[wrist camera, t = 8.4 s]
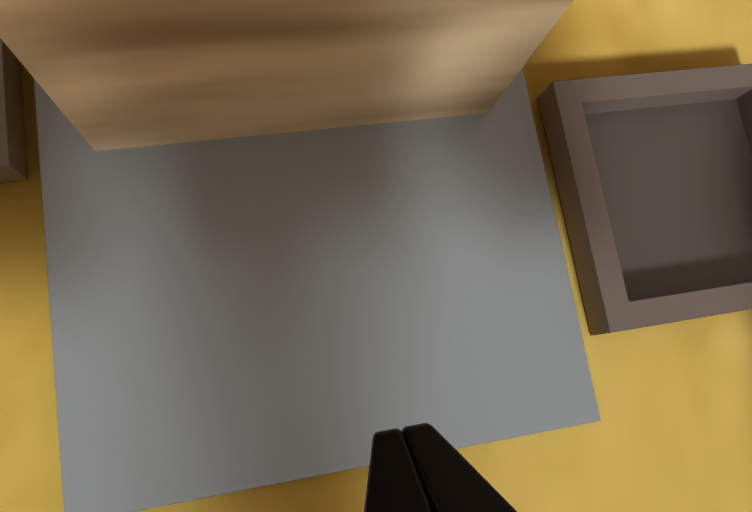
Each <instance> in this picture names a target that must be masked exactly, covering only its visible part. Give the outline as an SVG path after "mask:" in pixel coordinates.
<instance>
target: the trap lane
mask: <svg viewBox="0 0 752 512" xmlns="http://www.w3.org/2000/svg"><path fill="white" fill-rule="evenodd" d="M34 87H35V101H36V116H37V130H38V144H39V159H40V173H41V187H42V202H43V216H44V230H45V245H46V259H47V273H48V288H49V302H50V316H51V331H52V345H53V359H54V374H55V388H56V402H57V417H58V431H59V445H60V460H61V474H62V488H63V503H64V512H134V511H139V510H144V509H149V508H154V507H159V506H165V505H170V504H175V503H180V502H185V501H190V500H195V499H200V498H206V497H211V496H216V495H221V494H226V493H231V492H236V491H242V490H247V489H252V488H257V487H262V486H267V485H272V484H277V483H283V482H288V481H293V480H298V479H303V478H308V477H313V476H319V475H324V474H329V473H334V472H339V471H344V470H349V469H354V468H360V467H365V466H369V465H370V456H371V447H372V439H373V435H374V433H376V432H378V431H383V430H389V429H394V428H398V429H400V430H401V431H402V429H403V428H404V427H406V426H410V425H416V424H421V423H428V424H430V425H432V426H433V427H434V428H435V429H436V430H437V431H438V432H439V433H440V434H441V435H442V436H443V437H444V438H445V439H446V440H447V441H448V442H449V443H450V444H451V445H452V446H453V447H454V448H455V449H457V448H462V447H467V446H473V445H478V444H483V443H488V442H493V441H498V440H503V439H508V438H514V437H519V436H524V435H529V434H534V433H539V432H544V431H550V430H555V429H560V428H565V427H570V426H575V425H580V424H585V423H591V422H596V421H601V420H600V416H599V411H598V407H597V402H596V398H595V393H594V389H593V384H592V380H591V375H590V371H589V366H588V362H587V357H586V353H585V348H584V343H583V339H582V334H581V330H580V325H579V321H578V316H577V312H576V307H575V303H574V298H573V294H572V289H571V285H570V280H569V276H568V271H567V267H566V262H565V258H564V253H563V249H562V244H561V240H560V235H559V231H558V226H557V222H556V217H555V212H554V208H553V203H552V199H551V194H550V190H549V185H548V181H547V176H546V172H545V167H544V163H543V158H542V154H541V149H540V145H539V140H538V136H537V131H536V127H535V122H534V118H533V113H532V109H531V104H530V100H529V95H528V91H527V86H526V82H525V77H524V72H523V68H522V69H521V70H520V72H519V73H518V74H517V76H516V77H515V78H514V80H513V81H512V82H511V84H510V85H509V86H508V87H507V89H506V90H505V91H504V93H503V94H502V95H501V97H500V98H499V99H498V101H497V102H496V103H495V105H494V106H493V107H492V109H491V110H490V111H489V113H484V114H474V115H463V116H453V117H443V118H432V119H422V120H412V121H402V122H391V123H381V124H371V125H360V126H350V127H340V128H330V129H319V130H309V131H299V132H288V133H278V134H268V135H257V136H247V137H237V138H227V139H216V140H206V141H196V142H185V143H175V144H165V145H155V146H144V147H134V148H124V149H113V150H103V151H94V149H93V148H92V147H91V146H90V145H89V143H88V142H87V141H86V140H85V139H84V137H83V136H82V135H81V134H80V133H79V132H78V130H77V129H76V128H75V127H74V126H73V124H72V123H71V122H70V121H69V120H68V118H67V117H66V116H65V115H64V114H63V112H62V111H61V110H60V109H59V108H58V106H57V105H56V104H55V103H54V102H53V100H52V99H51V98H50V97H49V96H48V94H47V93H46V92H45V91H44V90H43V88H42V87H41V86H40V85H39V84H38V82H37V81H36V80H35V79H34ZM538 102H539V107H540V111H541V116H542V120H543V125H544V129H545V133H546V138H547V142H548V147H549V151H550V156H551V160H552V165H553V169H554V174H555V178H556V183H557V187H558V191H559V196H560V200H561V205H562V209H563V214H564V218H565V223H566V227H567V232H568V236H569V241H570V245H571V250H572V254H573V258H574V263H575V267H576V272H577V276H578V281H579V285H580V290H581V294H582V299H583V303H584V308H585V312H586V317H587V321H588V325H589V330H590V334H591V335H598V334H604V333H611V332H617V331H623V330H629V329H635V328H641V327H647V326H653V325H659V324H665V323H671V322H677V321H682V320H688V319H694V318H700V317H706V316H712V315H718V314H724V313H730V312H736V311H742V310H748V309H752V64H743V65H731V66H720V67H709V68H698V69H687V70H676V71H664V72H653V73H642V74H631V75H620V76H609V77H597V78H586V79H575V80H564V81H553V82H552V83H551V84H550V85H549V86H548V87H547V89H546V90H545V91H544V92H543V93H542V94H541V95H540V96H539V98H538ZM17 180H27V167H26V151H25V136H24V121H23V106H22V90H21V75H20V61H19V60H18V59H17V57H16V56H15V55H14V54H13V53H12V51H11V50H10V49H9V48H8V47H7V45H6V44H5V43H4V42H3V41H2V39H1V38H0V182H7V181H17Z"/></svg>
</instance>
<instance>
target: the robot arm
mask: <svg viewBox="0 0 752 512" xmlns="http://www.w3.org/2000/svg"><path fill="white" fill-rule="evenodd" d="M364 512H517V511H516V510H515V509H514V508H513V507H512V506H511V505H510V504H509V503H508V502H507V501H506V500H505V499H504V498H503V497H502V496H501V495H500V494H499V493H498V492H497V491H496V490H495V489H494V488H493V487H492V486H491V485H490V484H489V483H488V482H487V481H486V480H485V479H484V478H483V477H482V476H481V475H480V474H479V473H478V472H477V471H476V470H475V469H474V468H473V466H472V465H471V464H470V463H469V462H468V461H467V460H466V459H465V458H464V457H463V456H462V455H461V454H460V453H459V452H458V451H457V450H456V449H455V448H454V447H453V446H452V445H451V444H450V443H449V442H448V441H447V440H446V439H445V438H444V437H443V436H442V435H441V434H440V433H439V432H438V431H437V430H436V429H435V428H434V427H433V426H432V425H430V424H428V423H421V424H416V425H410V426H406V427H404V428H403V429H402V431H401V430H400V429H398V428H394V429H389V430H383V431H378V432H376V433H374V435H373V439H372V447H371V456H370V465H369V473H368V482H367V491H366V500H365V508H364Z"/></svg>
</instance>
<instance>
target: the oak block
mask: <svg viewBox="0 0 752 512" xmlns="http://www.w3.org/2000/svg"><path fill="white" fill-rule="evenodd" d="M572 2H573V0H0V38H1V39H2V41H3V42H4V43H5V44H6V45H7V47H8V48H9V49H10V50H11V51H12V53H13V54H14V55H15V56H16V57H17V59H18V60H19V61H20V62H21V63H22V64H23V66H24V67H25V68H26V69H27V70H28V72H29V73H30V74H31V75H32V76H33V78H34V79H35V80H36V81H37V82H38V84H39V85H40V86H41V87H42V88H43V90H44V91H45V92H46V93H47V94H48V96H49V97H50V98H51V99H52V100H53V102H54V103H55V104H56V105H57V106H58V108H59V109H60V110H61V111H62V112H63V114H64V115H65V116H66V117H67V118H68V120H69V121H70V122H71V123H72V124H73V126H74V127H75V128H76V129H77V130H78V132H79V133H80V134H81V135H82V136H83V137H84V139H85V140H86V141H87V142H88V143H89V145H90V146H91V147H92V148H93V149H94V151H103V150H113V149H124V148H134V147H144V146H155V145H165V144H175V143H185V142H196V141H206V140H216V139H227V138H237V137H247V136H257V135H268V134H278V133H288V132H299V131H309V130H319V129H330V128H340V127H350V126H360V125H371V124H381V123H391V122H402V121H412V120H422V119H432V118H443V117H453V116H463V115H474V114H484V113H489V111H490V110H491V109H492V107H493V106H494V105H495V103H496V102H497V101H498V99H499V98H500V97H501V95H502V94H503V93H504V91H505V90H506V89H507V87H508V86H509V85H510V84H511V82H512V81H513V80H514V78H515V77H516V76H517V74H518V73H519V72H520V70H521V69H522V68H523V66H524V65H525V64H526V62H527V61H528V60H529V58H530V57H531V56H532V54H533V53H534V52H535V51H536V49H537V48H538V47H539V45H540V44H541V43H542V41H543V40H544V39H545V37H546V36H547V35H548V33H549V32H550V31H551V29H552V28H553V27H554V25H555V24H556V23H557V21H558V20H559V19H560V17H561V16H562V15H563V14H564V12H565V11H566V10H567V8H568V7H569V6H570V4H571V3H572Z"/></svg>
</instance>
